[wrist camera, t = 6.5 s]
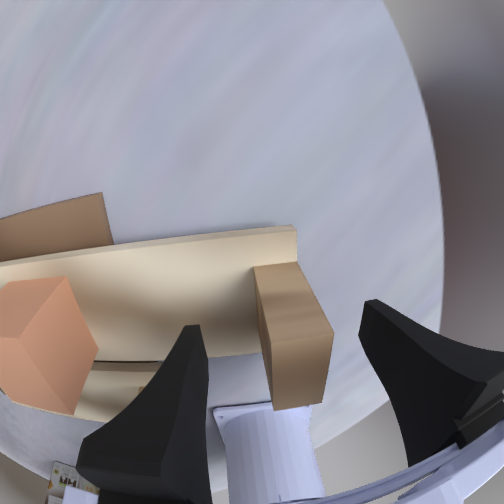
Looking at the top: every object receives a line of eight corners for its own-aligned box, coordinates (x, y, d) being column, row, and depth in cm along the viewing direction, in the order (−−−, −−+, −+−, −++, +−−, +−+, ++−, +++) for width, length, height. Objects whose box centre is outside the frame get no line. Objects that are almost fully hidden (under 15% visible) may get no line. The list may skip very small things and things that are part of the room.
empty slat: (188, 418, 19) (186, 482, 13) (15, 397, 17) (-2, 437, 12) (163, 362, 16) (151, 442, 10) (-21, 348, 14) (-46, 388, 9)
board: (178, 413, 20) (178, 419, 19) (5, 390, 18) (4, 394, 18) (102, 192, 12) (97, 194, 11) (-71, 245, 11) (-75, 248, 10)
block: (98, 349, 14) (73, 415, 9) (41, 346, 14) (11, 400, 9) (66, 276, 12) (18, 338, 7) (8, 281, 11) (-37, 331, 7)
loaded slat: (292, 338, 16) (318, 419, 10) (21, 346, 14) (-9, 400, 9) (292, 224, 13) (339, 293, 8) (-18, 265, 12) (-67, 312, 6)
